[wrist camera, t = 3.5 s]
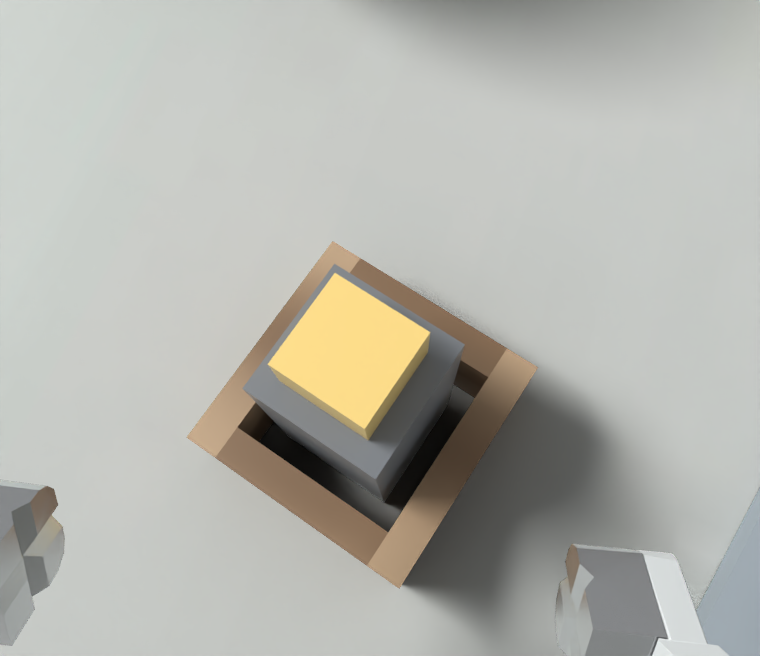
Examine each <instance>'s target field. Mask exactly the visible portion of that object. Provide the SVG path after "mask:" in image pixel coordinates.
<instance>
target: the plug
mask: <svg viewBox="0 0 760 656" xmlns="http://www.w3.org/2000/svg"><path fill="white" fill-rule="evenodd" d="M464 346H465V344H463V343H462V342H460V341H458V340H457V339H455V338H453V337H452V336H450V335H449V334H447V333H445V332H444V331H442V330H441V329H439V328H437V327H436V326H434V325H433V324H431V323H429V322H428V321H426V320H425V319H423V318H421V317H420V316H418V315H416V314H415V313H413V312H412V311H410V310H408V309H407V308H405V307H404V306H402V305H400V304H399V303H397V302H396V301H394V300H392V299H391V298H389V297H388V296H386V295H384V294H383V293H381V292H379V291H378V290H376V289H375V288H373V287H371V286H370V285H368V284H367V283H365V282H363V281H362V280H360V279H359V278H357V277H355V276H354V275H352V274H351V273H349V272H347V271H346V270H344V269H342V268H341V267H339V266H338V265H336V264H334V265H333V266H332V268H331V269H330V270H329V272H328V273H327V274H326V276H325V277H324V278H323V280H322V281H321V282H320V284H319V285H318V287H317V288H316V289H315V291H314V292H313V293H312V295H311V296H310V297H309V299H308V300H307V301H306V303H305V304H304V306H303V307H302V308H301V310H300V311H299V312H298V314H297V315H296V316H295V318H294V319H293V320H292V322H291V323H290V325H289V326H288V327H287V329H286V330H285V331H284V333H283V334H282V335H281V337H280V338H279V339H278V341H277V342H276V343H275V345H274V346H273V348H272V349H271V350H270V352H269V353H268V354H267V356H266V357H265V358H264V360H263V361H262V362H261V364H260V365H259V367H258V368H257V369H256V371H255V372H254V373H253V375H252V376H251V377H250V379H249V380H248V381H247V383H246V384H245V386H244V387H243V388H242V389H243V390H244V391H245V392H246V393H247V394H248V395H249V396H250V397H251V398H252V399H253V400H254V401H255V402H256V403H257V404H258V405H259V406H260V407H261V408H262V409H263V410H264V412H265V413H266V414H267V415H268V416H269V417H270V418H271V419H272V420H273V421H274V422H275V423H276V424H277V425H278V426H279V427H280V428H281V429H282V430H283V431H284V432H285V433H286V434H287V435H288V436H289V437H290V438H291V439H293V440H294V441H295V442H297V443H298V444H300V445H301V446H303V447H304V448H306V449H307V450H309V451H310V452H311V453H313V454H314V455H316V456H317V457H319V458H320V459H322V460H323V461H325V462H326V463H327V464H329V465H330V466H332V467H333V468H335V469H336V470H338V471H339V472H341V473H342V474H343V475H345V476H346V477H348V478H349V479H351V480H352V481H354V482H355V483H357V484H358V485H359V486H361V487H362V488H364V489H365V490H367V491H368V492H370V493H371V494H373V495H374V496H375V497H377V498H378V499H380V500H381V501H383V502H385V500H386V499H387V497H388V496H389V494H390V493H391V491H392V490H393V488H394V487H395V485H396V484H397V482H398V481H399V479H400V477H401V476H402V474H403V473H404V471H405V470H406V468H407V467H408V465H409V464H410V462H411V461H412V459H413V458H414V456H415V455H416V453H417V451H418V450H419V448H420V447H421V445H422V444H423V442H424V441H425V439H426V438H427V436H428V435H429V433H430V432H431V430H432V428H433V427H434V425H435V424H436V422H437V421H438V419H439V418H440V416H441V415H442V413H443V412H444V410H445V409H446V407H447V405H448V402H449V398H450V395H451V391H452V388H453V384H454V381H455V377H456V374H457V370H458V367H459V363H460V360H461V356H462V353H463V349H464Z"/></svg>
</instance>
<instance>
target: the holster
mask: <svg viewBox="0 0 760 656" xmlns="http://www.w3.org/2000/svg"><path fill="white" fill-rule="evenodd" d="M334 264H336V265H338V266H339V267H341V268H342V269H344V270H346V271H347V272H349V273H351V274H352V275H354V276H355V277H357V278H359V279H360V280H362V281H363V282H365V283H367V284H368V285H370V286H371V287H373V288H375V289H376V290H378V291H379V292H381V293H383V294H384V295H386V296H388V297H389V298H391V299H392V300H394V301H396V302H397V303H399V304H400V305H402V306H404V307H405V308H407V309H408V310H410V311H412V312H413V313H415V314H416V315H418V316H420V317H421V318H423V319H425V320H426V321H428V322H429V323H431V324H433V325H434V326H436V327H437V328H439V329H441V330H442V331H444V332H445V333H447V334H449V335H450V336H452V337H453V338H455V339H457V340H458V341H460V342H462V343H463V344H465V346H464V349H463V353H462V356H461V360H460V363H459V367H458V370H457V374H456V377H455V381H454V385H456V386H457V387H459V388H461V389H462V390H464V391H465V392H467V393H469V394H470V395H472V396H473V397H475V399H474V400H473V402H472V403H471V405H470V407H469V408H468V410H467V411H466V413H465V414H464V416H463V417H462V419H461V421H460V422H459V424H458V425H457V427H456V428H455V430H454V431H453V433H452V435H451V436H450V438H449V439H448V441H447V442H446V444H445V445H444V447H443V449H442V450H441V452H440V453H439V455H438V456H437V458H436V459H435V461H434V462H433V464H432V466H431V467H430V469H429V470H428V472H427V473H426V475H425V476H424V478H423V480H422V481H421V483H420V484H419V486H418V487H417V489H416V490H415V492H414V494H413V495H412V497H411V498H410V500H409V501H408V503H407V504H406V506H405V507H404V509H403V511H402V512H401V514H400V515H399V517H398V518H397V520H396V521H395V523H394V525H393V526H392V528H391V529H390V531H389V532H387V531H386V530H384V529H383V528H381V527H380V526H378V525H377V524H376V523H374V522H373V521H371V520H370V519H368V518H367V517H366V516H364V515H363V514H361V513H360V512H358V511H357V510H356V509H354V508H353V507H351V506H350V505H348V504H347V503H345V502H344V501H343V500H341V499H340V498H338V497H337V496H335V495H334V494H333V493H331V492H330V491H328V490H327V489H325V488H324V487H322V486H321V485H320V484H318V483H317V482H315V481H314V480H312V479H311V478H310V477H308V476H307V475H305V474H304V473H302V472H301V471H299V470H298V469H297V468H295V467H294V466H292V465H291V464H289V463H288V462H287V461H285V460H284V459H282V458H281V457H279V456H278V455H277V454H275V453H274V452H272V451H271V450H269V449H268V448H266V447H265V446H264V445H262V444H261V443H259V442H260V440H261V439H262V437H263V436H264V435H265V433H266V432H267V430H268V429H269V428H270V426H271V425H272V423H273V422H274V421H273V420H272V419H271V418H270V417H269V416H268V415H267V414H266V413H265V412H264V410H263V409H262V408H261V407H260V406H259V405H258V404H257V403H256V402H255V401H254V400H253V399H252V398H251V397H250V396H249V395H248V394H247V393H246V392H245V391H244V390H243V389H242V388H243V387H244V386H245V384H246V383H247V381H248V380H249V379H250V377H251V376H252V375H253V373H254V372H255V371H256V369H257V368H258V367H259V365H260V364H261V362H262V361H263V360H264V358H265V357H266V356H267V354H268V353H269V352H270V350H271V349H272V348H273V346H274V345H275V343H276V342H277V341H278V339H279V338H280V337H281V335H282V334H283V333H284V331H285V330H286V329H287V327H288V326H289V325H290V323H291V322H292V320H293V319H294V318H295V316H296V315H297V314H298V312H299V311H300V310H301V308H302V307H303V306H304V304H305V303H306V301H307V300H308V299H309V297H310V296H311V295H312V293H313V292H314V291H315V289H316V288H317V287H318V285H319V284H320V282H321V281H322V280H323V278H324V277H325V276H326V274H327V273H328V272H329V270H330V269H331V268H332V266H333V265H334ZM537 368H538V367H536V366H535V365H533V364H532V363H530V362H528V361H527V360H525V359H523V358H522V357H520V356H519V355H517V354H515V353H514V352H512V351H510V350H509V349H507V348H506V347H504V346H502V345H501V344H499V343H497V342H496V341H494V340H492V339H491V338H489V337H488V336H486V335H484V334H483V333H481V332H479V331H478V330H476V329H475V328H473V327H471V326H470V325H468V324H466V323H465V322H463V321H462V320H460V319H458V318H457V317H455V316H453V315H452V314H450V313H449V312H447V311H445V310H444V309H442V308H440V307H439V306H437V305H436V304H434V303H432V302H431V301H429V300H427V299H426V298H424V297H423V296H421V295H419V294H418V293H416V292H414V291H413V290H411V289H410V288H408V287H406V286H405V285H403V284H401V283H400V282H398V281H396V280H395V279H393V278H392V277H390V276H388V275H387V274H385V273H383V272H382V271H380V270H379V269H377V268H375V267H374V266H372V265H370V264H369V263H367V262H366V261H364V260H362V259H361V258H359V257H357V256H356V255H354V254H353V253H351V252H349V251H348V250H346V249H344V248H343V247H341V246H340V245H338V244H336V243H335V242H333V241H332V243H331V244H330V245H329V247H328V248H327V249H326V251H325V252H324V254H323V255H322V256H321V258H320V259H319V260H318V262H317V263H316V264H315V266H314V267H313V268H312V270H311V271H310V272H309V274H308V275H307V276H306V278H305V279H304V280H303V282H302V283H301V284H300V286H299V287H298V288H297V290H296V291H295V292H294V294H293V295H292V296H291V298H290V299H289V300H288V302H287V303H286V305H285V306H284V307H283V309H282V310H281V311H280V313H279V314H278V315H277V317H276V318H275V319H274V321H273V322H272V323H271V325H270V326H269V327H268V329H267V330H266V331H265V333H264V334H263V335H262V337H261V338H260V339H259V341H258V342H257V343H256V345H255V346H254V347H253V349H252V350H251V352H250V353H249V354H248V356H247V357H246V358H245V360H244V361H243V362H242V364H241V365H240V366H239V368H238V369H237V370H236V372H235V373H234V374H233V376H232V377H231V378H230V380H229V381H228V382H227V384H226V385H225V386H224V388H223V389H222V390H221V392H220V393H219V394H218V396H217V397H216V398H215V400H214V401H213V403H212V404H211V405H210V407H209V408H208V409H207V411H206V412H205V413H204V415H203V416H202V417H201V419H200V420H199V421H198V423H197V424H196V425H195V427H194V428H193V429H192V431H191V432H190V433H189V435H188V436H187V438H188V439H190V440H191V441H192V442H194V443H195V444H197V445H198V446H199V447H201V448H202V449H204V450H205V451H206V452H208V453H209V454H211V455H212V456H213V457H215V458H216V459H218V460H219V461H221V462H222V463H223V464H225V465H226V466H228V467H229V468H230V469H232V470H233V471H235V472H236V473H237V474H239V475H240V476H242V477H243V478H244V479H246V480H247V481H249V482H250V483H251V484H253V485H254V486H256V487H257V488H258V489H260V490H261V491H263V492H264V493H265V494H267V495H268V496H270V497H271V498H272V499H274V500H275V501H277V502H278V503H280V504H281V505H282V506H284V507H285V508H287V509H288V510H289V511H291V512H292V513H294V514H295V515H296V516H298V517H299V518H301V519H302V520H303V521H305V522H306V523H308V524H309V525H310V526H312V527H313V528H315V529H316V530H317V531H319V532H320V533H322V534H323V535H324V536H326V537H327V538H329V539H330V540H332V541H333V542H334V543H336V544H337V545H339V546H340V547H341V548H343V549H344V550H346V551H347V552H348V553H350V554H351V555H353V556H354V557H355V558H357V559H358V560H360V561H361V562H362V563H364V564H365V565H367V566H368V567H369V568H371V569H372V570H374V571H375V572H376V573H378V574H379V575H381V576H382V577H384V578H385V579H386V580H388V581H389V582H391V583H392V584H393V585H395V586H396V587H398V588H400V587H401V585H402V583H403V582H404V580H405V579H406V577H407V575H408V574H409V572H410V571H411V569H412V567H413V566H414V564H415V563H416V561H417V560H418V558H419V556H420V555H421V553H422V552H423V550H424V548H425V547H426V545H427V544H428V542H429V540H430V539H431V537H432V536H433V534H434V532H435V531H436V529H437V528H438V526H439V524H440V523H441V521H442V520H443V518H444V516H445V515H446V513H447V512H448V510H449V509H450V507H451V505H452V504H453V502H454V501H455V499H456V497H457V496H458V494H459V493H460V491H461V489H462V488H463V486H464V485H465V483H466V481H467V480H468V478H469V477H470V475H471V473H472V472H473V470H474V469H475V467H476V465H477V464H478V462H479V461H480V459H481V457H482V456H483V454H484V453H485V451H486V450H487V448H488V446H489V445H490V443H491V442H492V440H493V438H494V437H495V435H496V434H497V432H498V430H499V429H500V427H501V426H502V424H503V422H504V421H505V419H506V418H507V416H508V414H509V413H510V411H511V410H512V408H513V406H514V405H515V403H516V402H517V400H518V399H519V397H520V395H521V394H522V392H523V391H524V389H525V387H526V386H527V384H528V383H529V381H530V379H531V378H532V376H533V375H534V373H535V371H536V370H537Z"/></svg>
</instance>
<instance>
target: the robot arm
mask: <svg viewBox="0 0 760 656" xmlns="http://www.w3.org/2000/svg"><path fill="white" fill-rule="evenodd" d="M57 506H58V503H57V499H56V495H55V491H54V489H52V488H50V487H48V486H44V485H36V484H29V483H21V482H14V481H7V480H0V645H9V646H12V645H13V643H14V642H15V640H16V639H17V637H18V635H19V634H20V632H21V631H22V629H23V627H24V626H25V624H26V623H27V621H28V619H29V618H30V616H31V615H32V613H33V611H34V610H35V608H34V603H33V598H32V596H34V595H35V594H37V593H39V592H40V591H42V590H44V589H45V588H47V587H48V586H50V584H51V582H52V580H53V579H54V577H55V575H56V574H57V572H58V570H59V567H60V563H61V560H62V557H63V554H64V540H65V538H64V532H63V527H62V525H61V524H60V523H59V522H58V521H57V520H56V519H55V518H54V517H53V516H52V513H53V512H54V510H55V509H56V507H57ZM565 563H566V569H567V575H568V577H567V578H565V579H564V580H563V581H561V582H560V585H559V589H558V594H557V598H556V611H555V625H556V636H557V644H558V646H559V648H560V649H561V650H562V651H563V652H564V653H565V655H566V656H729V655H728V654H727V653H726V652H725V651H724V650H723V649H722V648H721V647H720V646H718V645H711V644H708V642H707V639H706V637H705V634H704V631H703V628H702V626H701V623H700V620H699V617H698V615H697V612H696V609H695V606H694V604H693V601H692V598H691V595H690V592H689V590H688V587H687V584H686V581H685V579H684V576H683V573H682V570H681V568H680V565H679V562H678V559H677V558H676V557H675V556H674V555H673V554H672V553H665V552H655V551H645V550H638V551H637V550H633V549H623V548H613V547H603V546H593V545H583V544H573V543H572V545H571V546H570V548H569V550H568V553H567V557H566V561H565Z"/></svg>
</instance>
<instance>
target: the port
mask: <svg viewBox="0 0 760 656" xmlns="http://www.w3.org/2000/svg"><path fill="white" fill-rule="evenodd" d="M696 612H697V615H698V617H699V620H700V623H701V626H702V628H703V631H704V634H705V637H706V639H707V642H708V644H711V645H718V646H720V647H721V648H722V649H723V650H724V651H725V652H726V653H727V654H728V655H729V656H760V488H759V490H758V492H757V494H756V496H755V498H754V500H753V502H752V504H751V506H750V508H749V510H748V512H747V514H746V515H745V517H744V519H743V521H742V523H741V525H740V527H739V529H738V531H737V533H736V535H735V537H734V539H733V541H732V543H731V545H730V547H729V548H728V550H727V552H726V554H725V556H724V558H723V560H722V562H721V564H720V566H719V568H718V570H717V572H716V574H715V576H714V578H713V579H712V581H711V583H710V585H709V587H708V589H707V591H706V593H705V595H704V597H703V599H702V601H701V603H700V605H699V607H698V609H697V611H696Z"/></svg>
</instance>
